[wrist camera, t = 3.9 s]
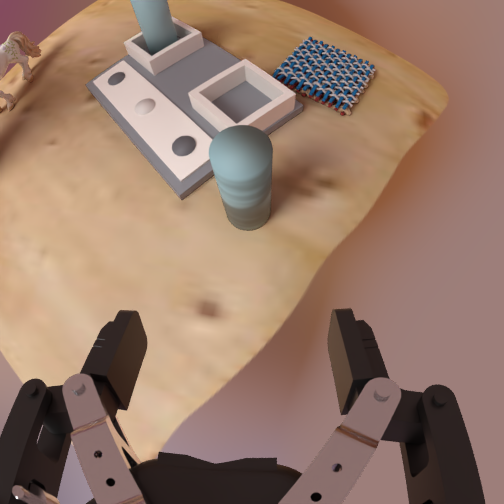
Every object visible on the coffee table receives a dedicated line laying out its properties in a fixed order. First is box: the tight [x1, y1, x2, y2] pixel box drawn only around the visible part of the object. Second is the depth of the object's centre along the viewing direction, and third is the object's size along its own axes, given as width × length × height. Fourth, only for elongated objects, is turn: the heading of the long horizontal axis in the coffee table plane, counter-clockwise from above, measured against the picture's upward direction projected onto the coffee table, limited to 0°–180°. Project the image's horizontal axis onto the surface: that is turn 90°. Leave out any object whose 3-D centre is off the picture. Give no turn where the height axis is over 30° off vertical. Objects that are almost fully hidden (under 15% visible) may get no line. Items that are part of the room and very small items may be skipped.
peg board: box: [86, 0, 303, 200], centre depth 28 cm, size 16×24×11 cm, turn 41°
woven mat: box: [272, 37, 375, 115], centre depth 32 cm, size 10×11×2 cm
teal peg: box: [209, 125, 273, 231], centre depth 24 cm, size 4×4×10 cm
